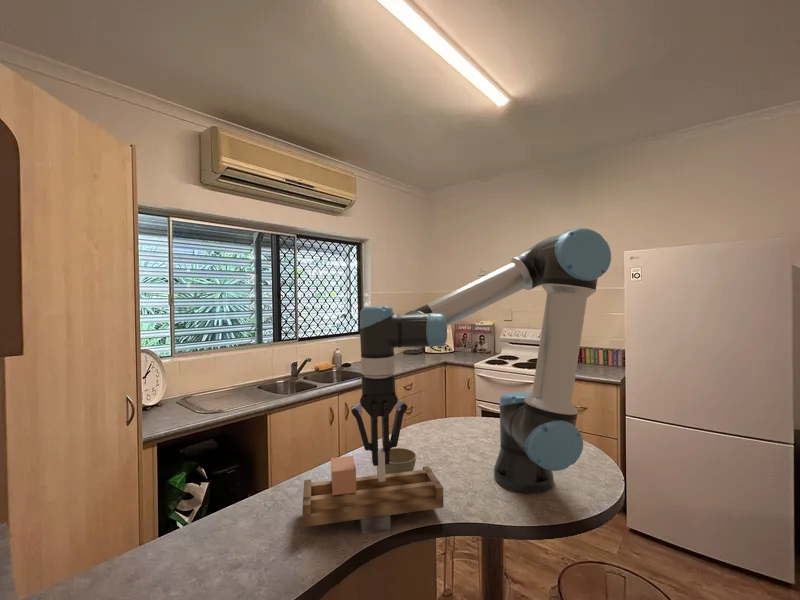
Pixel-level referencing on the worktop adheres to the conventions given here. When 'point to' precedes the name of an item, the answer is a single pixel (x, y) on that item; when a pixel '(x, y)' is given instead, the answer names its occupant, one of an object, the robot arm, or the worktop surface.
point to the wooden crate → (372, 499)
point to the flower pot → (400, 461)
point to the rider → (343, 475)
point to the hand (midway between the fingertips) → (381, 478)
